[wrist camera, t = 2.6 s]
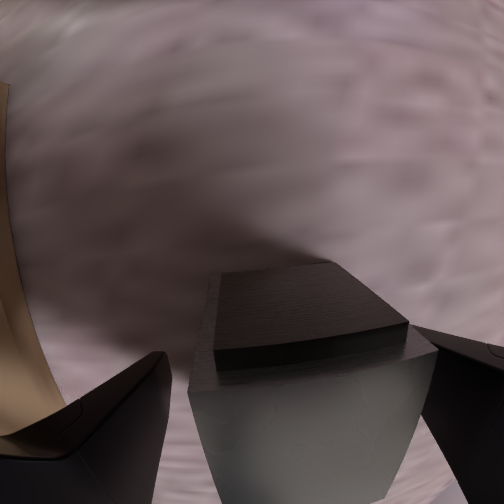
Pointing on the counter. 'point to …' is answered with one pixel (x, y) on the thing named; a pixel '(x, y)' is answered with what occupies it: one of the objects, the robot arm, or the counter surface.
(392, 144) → the counter surface
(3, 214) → the rail
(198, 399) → the block
